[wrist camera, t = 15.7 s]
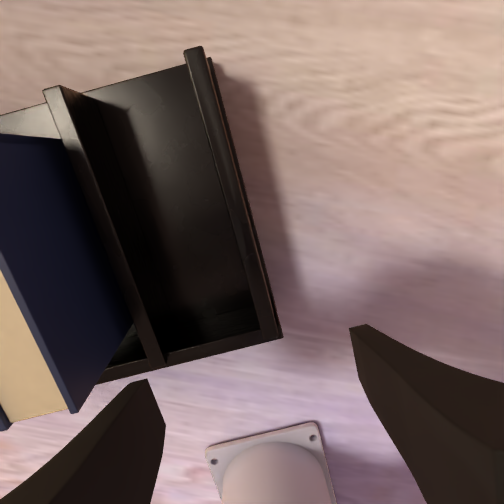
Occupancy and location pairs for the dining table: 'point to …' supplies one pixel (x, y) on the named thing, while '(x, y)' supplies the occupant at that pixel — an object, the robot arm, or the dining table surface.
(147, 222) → the rack
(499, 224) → the dining table surface
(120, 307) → the book
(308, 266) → the dining table surface
